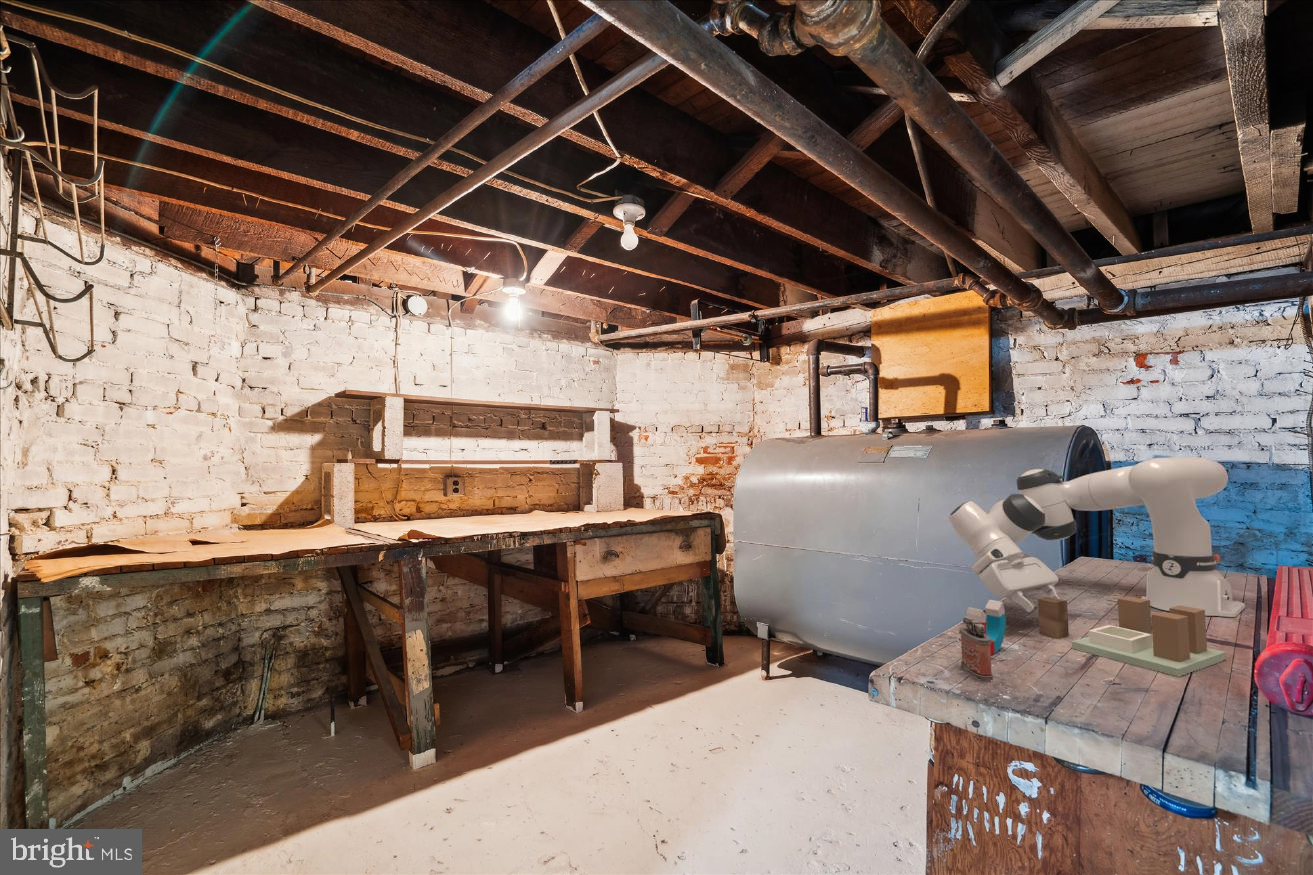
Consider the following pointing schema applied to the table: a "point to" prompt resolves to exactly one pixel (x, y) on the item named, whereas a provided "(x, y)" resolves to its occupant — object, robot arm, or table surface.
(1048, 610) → the leg
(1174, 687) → the table surface
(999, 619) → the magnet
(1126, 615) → the board
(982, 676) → the lighter
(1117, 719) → the table surface
